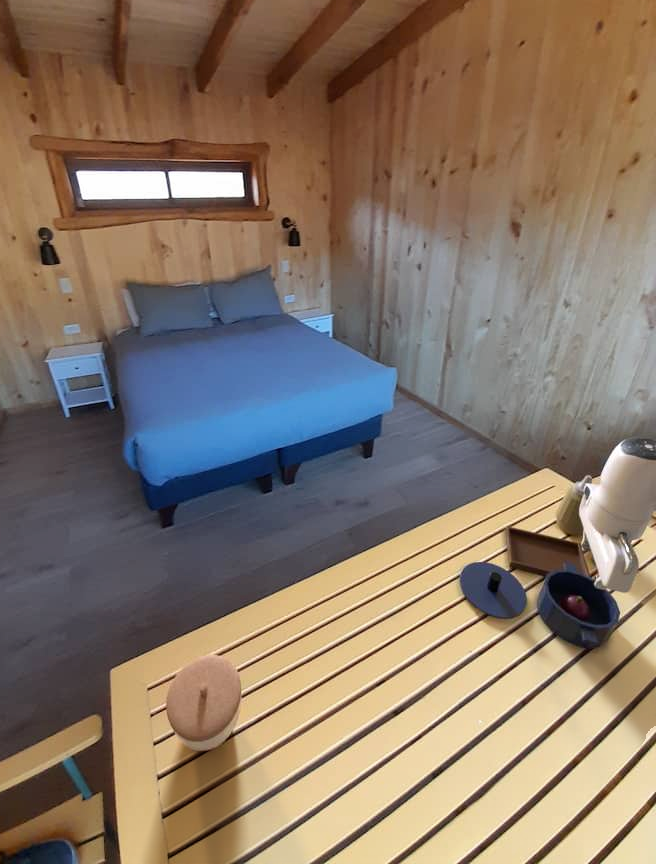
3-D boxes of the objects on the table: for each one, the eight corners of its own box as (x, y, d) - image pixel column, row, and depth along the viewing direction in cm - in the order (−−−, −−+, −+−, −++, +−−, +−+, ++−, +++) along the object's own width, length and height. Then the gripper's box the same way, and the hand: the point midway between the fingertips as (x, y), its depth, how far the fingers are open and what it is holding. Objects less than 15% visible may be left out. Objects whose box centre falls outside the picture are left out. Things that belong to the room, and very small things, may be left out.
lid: (522, 574, 98) (527, 560, 95) (530, 630, 86) (536, 615, 84) (459, 558, 102) (462, 544, 100) (458, 608, 90) (462, 593, 88)
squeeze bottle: (547, 515, 115) (565, 465, 107) (577, 518, 114) (598, 467, 105) (559, 537, 108) (580, 485, 99) (592, 540, 106) (615, 488, 98)
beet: (582, 609, 89) (591, 590, 86) (588, 631, 85) (598, 612, 82) (556, 601, 91) (563, 583, 88) (560, 622, 87) (568, 604, 84)
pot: (595, 590, 94) (605, 569, 91) (621, 672, 78) (634, 651, 75) (531, 573, 98) (538, 553, 95) (543, 648, 82) (552, 627, 79)
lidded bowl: (180, 781, 65) (169, 748, 60) (169, 699, 76) (159, 666, 71) (254, 741, 70) (249, 708, 65) (234, 670, 80) (229, 636, 75)
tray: (577, 548, 104) (580, 543, 103) (589, 588, 94) (592, 582, 93) (505, 531, 110) (506, 526, 109) (509, 567, 100) (510, 561, 99)
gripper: (659, 565, 65) (628, 618, 71) (619, 485, 82) (597, 533, 88) (613, 554, 67) (586, 606, 73) (583, 478, 84) (564, 526, 90)
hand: (592, 566), depth 81 cm, fingers open, 8 cm apart
